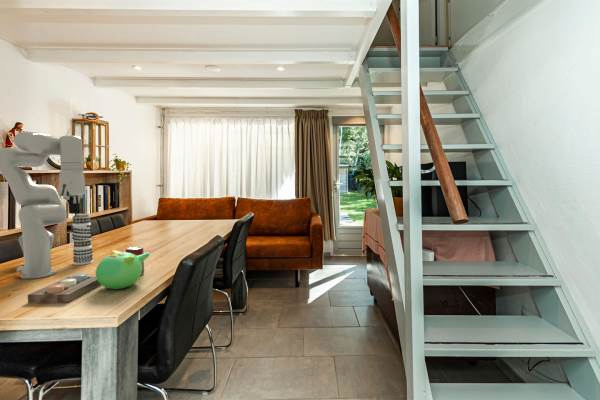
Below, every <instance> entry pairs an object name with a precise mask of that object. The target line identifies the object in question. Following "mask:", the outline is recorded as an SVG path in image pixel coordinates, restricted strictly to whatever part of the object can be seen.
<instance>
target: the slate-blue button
mask: <svg viewBox="0 0 600 400" xmlns="http://www.w3.org/2000/svg"><path fill="white" fill-rule="evenodd" d="M87 276H88V274H87V273H78V274H73V275H72V276H71V277H72V278H73V279H76V282H83V281H85V280H87Z"/></svg>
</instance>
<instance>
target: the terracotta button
mask: <svg viewBox="0 0 600 400" xmlns="http://www.w3.org/2000/svg"><path fill="white" fill-rule="evenodd" d="M50 285H51V284H50ZM47 286H48V287H47V294H56V293H61V292H63V291H64V285H63V284H57V285H51V286H49V285H47Z"/></svg>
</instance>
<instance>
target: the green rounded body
mask: <svg viewBox="0 0 600 400" xmlns="http://www.w3.org/2000/svg"><path fill="white" fill-rule="evenodd" d="M150 255H151V254H150V252H144V254H141V255H138V256H136V255H134V254H132V253H128V252H125V251H118V250H115V249H113V250H111V253H110V254H108V255H106V256H105V257H103V258H102V259H101V261H99V263H98V264H97V266H96V269H95V276H96V278H97V280H98V282H99V283H100V284H101V285H100V286H102V287H104V288H108V289H111V290H121V289H125V288H128V287H130V286H132V285H134V284H135V283H136V282H137V281H138V280H139V278H140V277H141V276H142V275H141V273H142V262H143V261H144V262H145V260H146V259H147V258H148V257H150Z"/></svg>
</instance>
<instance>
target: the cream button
mask: <svg viewBox="0 0 600 400" xmlns="http://www.w3.org/2000/svg"><path fill="white" fill-rule="evenodd" d="M61 280H62V279H61ZM59 281H60V280H59ZM60 283H61V284H63V285H64V287H73V286H75V285H77V284H76V279H66V280H62V281H60Z"/></svg>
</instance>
